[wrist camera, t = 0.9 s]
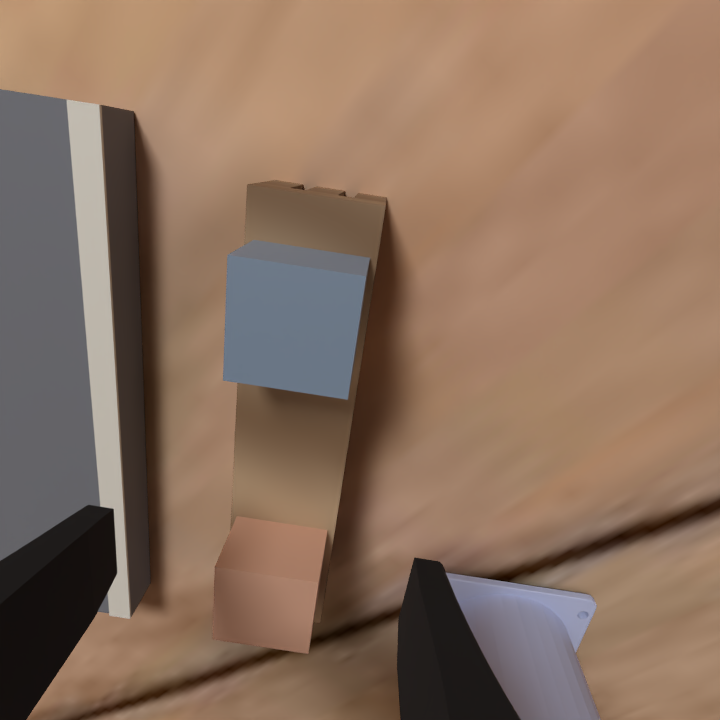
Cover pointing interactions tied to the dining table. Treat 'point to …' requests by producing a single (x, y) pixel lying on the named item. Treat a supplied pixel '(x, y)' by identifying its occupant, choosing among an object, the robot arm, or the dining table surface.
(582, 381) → the dining table surface
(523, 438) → the dining table surface
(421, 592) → the robot arm
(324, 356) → the blue-grey square block
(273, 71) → the dining table surface
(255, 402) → the brown notched bar
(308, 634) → the pink square block
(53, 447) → the dock
